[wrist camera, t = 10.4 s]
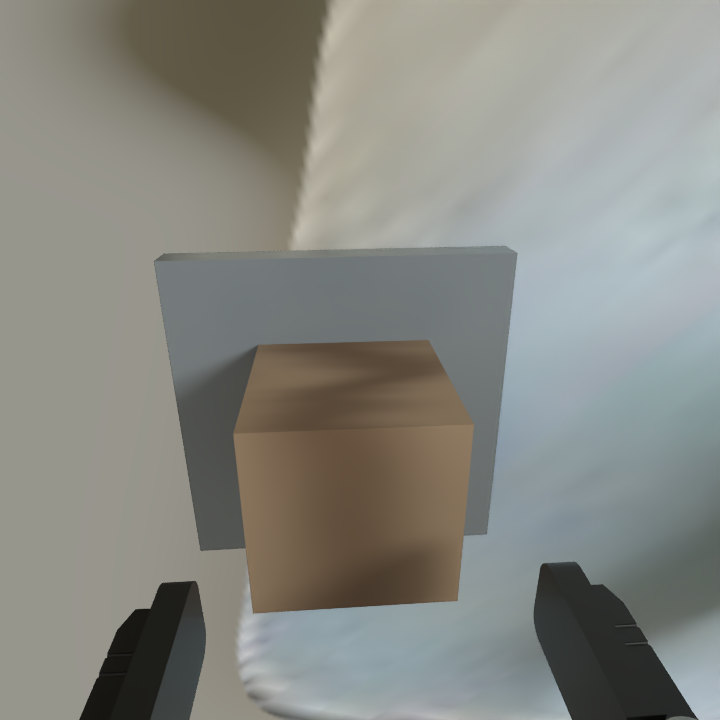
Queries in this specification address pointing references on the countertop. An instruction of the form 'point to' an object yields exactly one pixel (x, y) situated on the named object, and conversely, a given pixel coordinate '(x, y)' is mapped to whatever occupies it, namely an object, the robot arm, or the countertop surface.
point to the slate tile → (327, 325)
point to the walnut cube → (352, 476)
